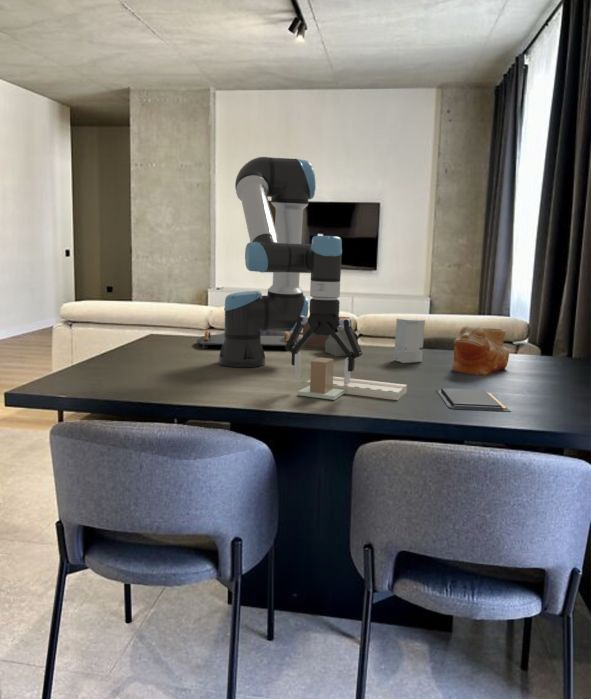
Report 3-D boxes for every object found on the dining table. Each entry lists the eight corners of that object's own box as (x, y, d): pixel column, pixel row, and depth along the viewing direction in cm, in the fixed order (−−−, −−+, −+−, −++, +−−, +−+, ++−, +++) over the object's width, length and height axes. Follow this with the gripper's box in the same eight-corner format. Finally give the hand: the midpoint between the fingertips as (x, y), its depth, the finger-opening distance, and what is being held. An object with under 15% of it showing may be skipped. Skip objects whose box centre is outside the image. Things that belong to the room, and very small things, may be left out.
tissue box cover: (315, 338, 255) (316, 315, 254) (348, 340, 252) (349, 317, 250) (302, 347, 230) (303, 321, 229) (338, 349, 227) (339, 323, 226)
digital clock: (357, 357, 209) (358, 328, 207) (332, 357, 207) (333, 327, 206) (344, 350, 225) (345, 322, 223) (321, 350, 223) (322, 322, 221)
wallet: (436, 385, 161) (493, 388, 159) (435, 392, 161) (492, 395, 160) (447, 404, 141) (512, 407, 140) (446, 411, 141) (511, 415, 140)
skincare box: (402, 363, 200) (405, 319, 198) (392, 360, 205) (395, 317, 203) (423, 362, 203) (425, 319, 201) (413, 359, 209) (415, 317, 206)
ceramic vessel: (439, 371, 187) (442, 325, 185) (476, 362, 206) (480, 319, 204) (480, 379, 178) (484, 329, 176) (515, 368, 197) (519, 323, 195)
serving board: (194, 350, 216) (194, 334, 215) (200, 341, 239) (200, 326, 238) (298, 352, 218) (299, 336, 217) (295, 343, 241) (295, 328, 240)
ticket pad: (306, 388, 158) (306, 381, 158) (319, 381, 167) (319, 374, 167) (397, 400, 149) (398, 392, 148) (406, 392, 158) (407, 384, 157)
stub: (297, 395, 150) (298, 360, 149) (309, 388, 157) (310, 355, 156) (334, 399, 146) (335, 364, 145) (344, 393, 154) (346, 359, 152)
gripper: (273, 296, 149) (271, 378, 153) (368, 302, 140) (364, 389, 143) (285, 294, 156) (283, 373, 160) (376, 300, 146) (372, 383, 150)
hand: (321, 380), depth 151 cm, fingers open, 13 cm apart
